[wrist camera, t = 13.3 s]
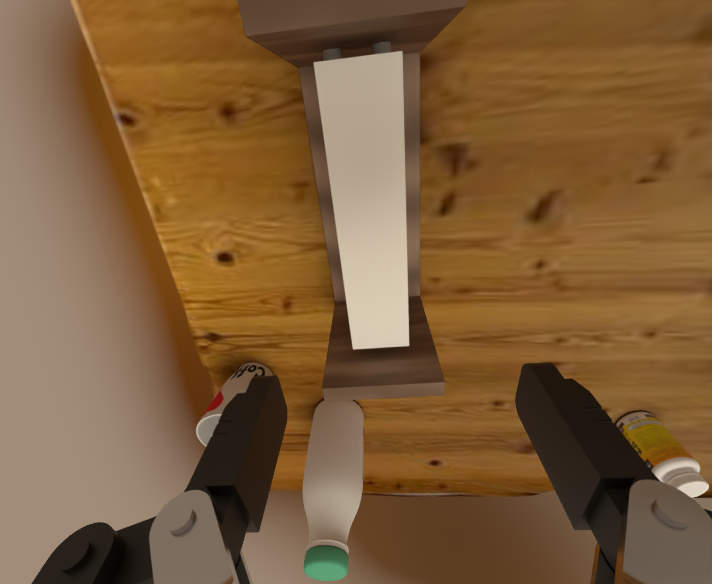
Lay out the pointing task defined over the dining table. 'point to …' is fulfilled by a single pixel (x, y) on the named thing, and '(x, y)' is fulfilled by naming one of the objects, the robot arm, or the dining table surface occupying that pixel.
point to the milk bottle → (332, 486)
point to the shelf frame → (301, 48)
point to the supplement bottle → (663, 453)
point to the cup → (228, 397)
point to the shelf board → (368, 191)
